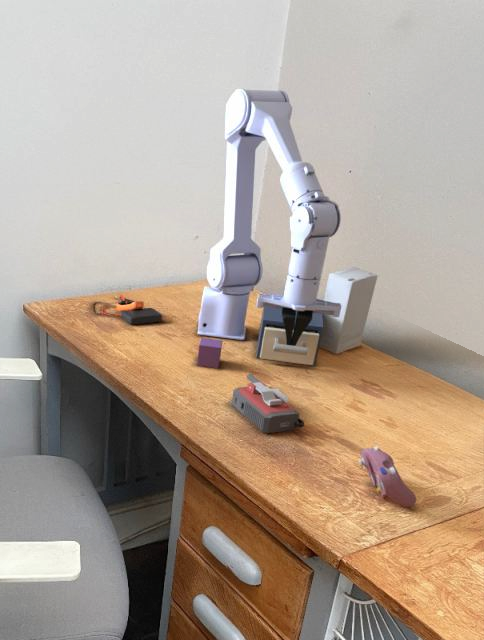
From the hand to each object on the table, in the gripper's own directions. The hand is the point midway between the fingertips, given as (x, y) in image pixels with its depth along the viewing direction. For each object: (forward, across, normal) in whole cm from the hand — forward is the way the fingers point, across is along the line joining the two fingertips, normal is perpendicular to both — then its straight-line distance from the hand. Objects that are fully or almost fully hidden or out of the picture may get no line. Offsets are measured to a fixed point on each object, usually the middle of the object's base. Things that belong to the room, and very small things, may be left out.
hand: (289, 349), depth 142 cm
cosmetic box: (+4, +10, +17) cm, 20 cm away
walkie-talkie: (+4, -4, -18) cm, 19 cm away
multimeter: (+4, -35, +22) cm, 42 cm away
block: (+4, -14, -1) cm, 15 cm away
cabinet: (+4, 0, +11) cm, 12 cm away
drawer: (+3, 0, +6) cm, 6 cm away
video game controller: (+4, +14, -40) cm, 43 cm away
